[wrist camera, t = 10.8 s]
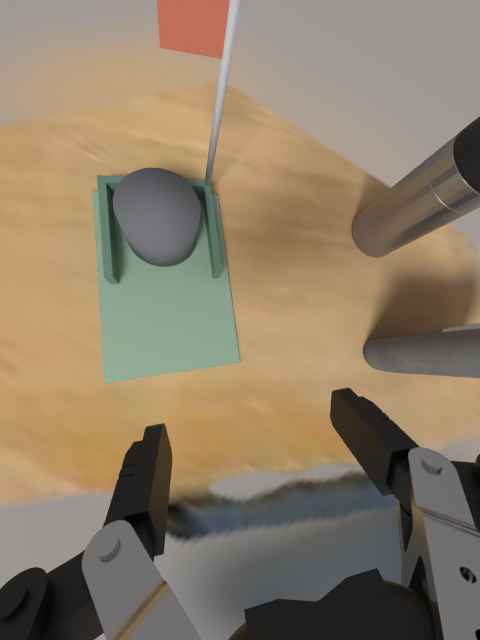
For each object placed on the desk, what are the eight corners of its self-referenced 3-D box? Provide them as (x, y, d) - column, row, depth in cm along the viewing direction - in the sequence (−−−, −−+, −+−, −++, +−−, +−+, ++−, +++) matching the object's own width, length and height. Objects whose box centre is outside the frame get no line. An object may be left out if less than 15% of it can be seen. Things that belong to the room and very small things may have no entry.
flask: (364, 373, 40) (530, 386, 21) (361, 338, 41) (518, 321, 22) (433, 371, 44) (629, 382, 25) (429, 340, 45) (615, 326, 26)
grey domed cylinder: (192, 203, 37) (195, 169, 31) (200, 264, 36) (205, 243, 29) (123, 203, 35) (109, 165, 28) (129, 268, 33) (116, 246, 27)
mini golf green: (217, 196, 39) (261, -5, 17) (239, 362, 35) (328, 368, 14) (93, 192, 34) (-54, -87, 13) (105, 382, 31) (-66, 438, 9)
